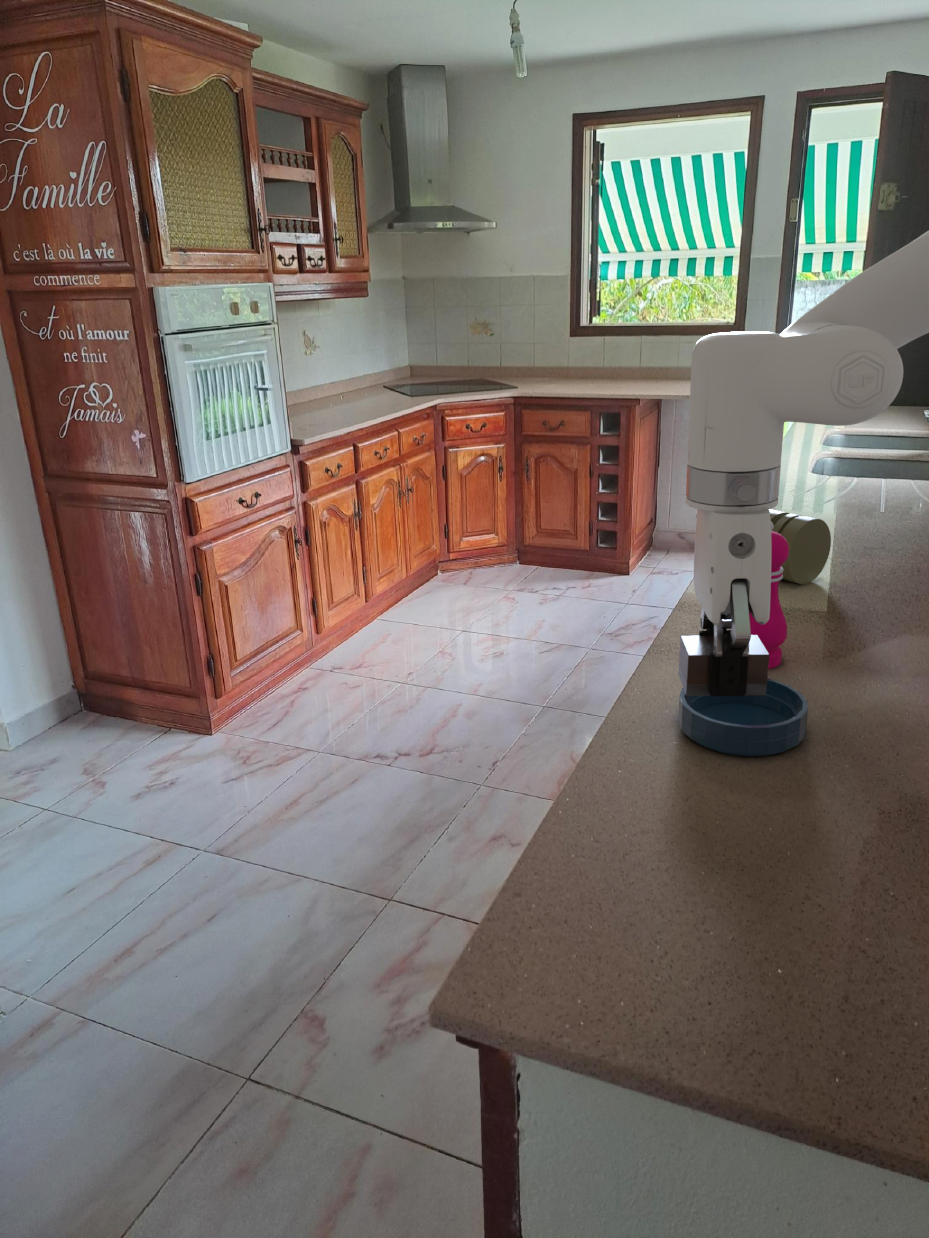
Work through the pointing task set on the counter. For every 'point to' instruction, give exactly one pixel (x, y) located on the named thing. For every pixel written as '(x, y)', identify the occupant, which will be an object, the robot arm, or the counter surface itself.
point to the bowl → (746, 720)
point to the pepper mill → (773, 604)
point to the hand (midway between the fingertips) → (720, 680)
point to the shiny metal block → (698, 661)
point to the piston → (802, 545)
